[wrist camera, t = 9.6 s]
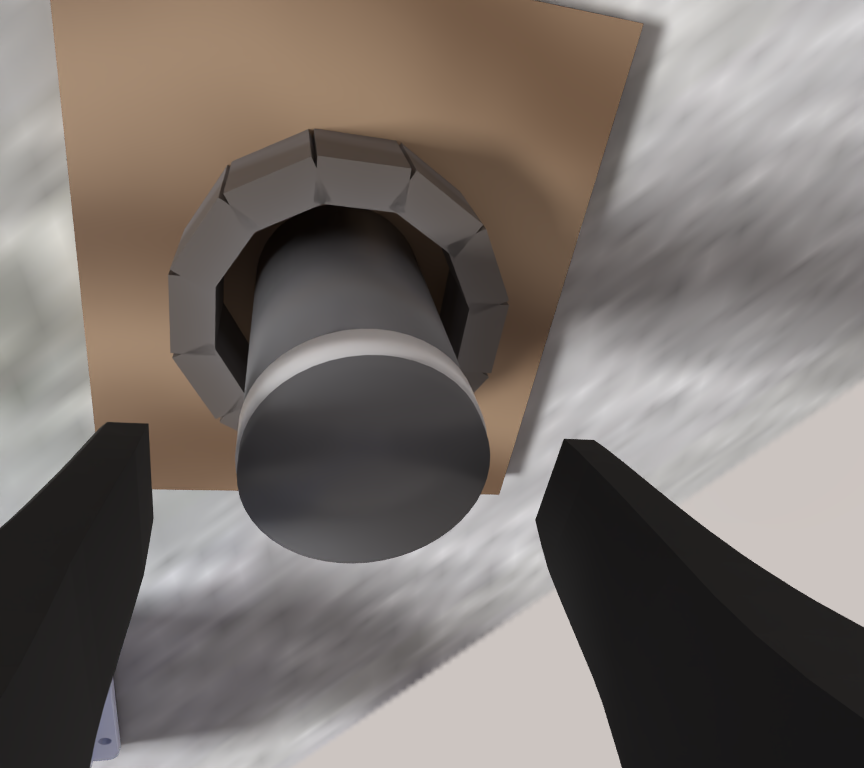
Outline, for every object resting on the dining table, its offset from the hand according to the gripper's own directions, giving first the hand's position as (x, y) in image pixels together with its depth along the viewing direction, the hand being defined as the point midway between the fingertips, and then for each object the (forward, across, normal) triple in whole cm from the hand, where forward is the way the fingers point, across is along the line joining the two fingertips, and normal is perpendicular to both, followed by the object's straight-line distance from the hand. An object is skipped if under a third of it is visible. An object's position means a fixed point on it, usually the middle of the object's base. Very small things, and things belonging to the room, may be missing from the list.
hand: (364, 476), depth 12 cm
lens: (+8, 0, 0) cm, 8 cm away
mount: (+9, 0, 0) cm, 9 cm away
